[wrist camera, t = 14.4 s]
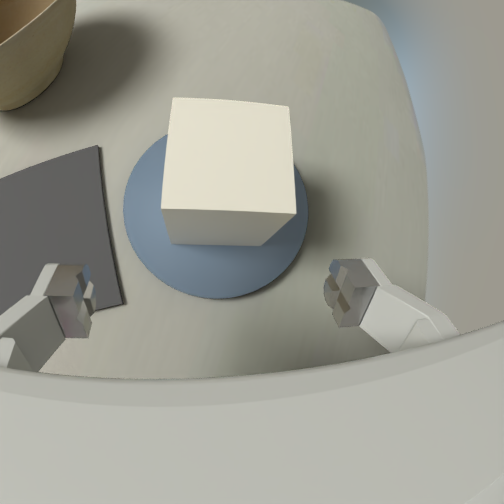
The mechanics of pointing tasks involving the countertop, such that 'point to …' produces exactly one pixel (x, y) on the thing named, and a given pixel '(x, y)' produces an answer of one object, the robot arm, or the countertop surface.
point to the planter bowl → (32, 47)
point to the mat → (55, 226)
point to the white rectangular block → (227, 172)
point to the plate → (203, 256)
